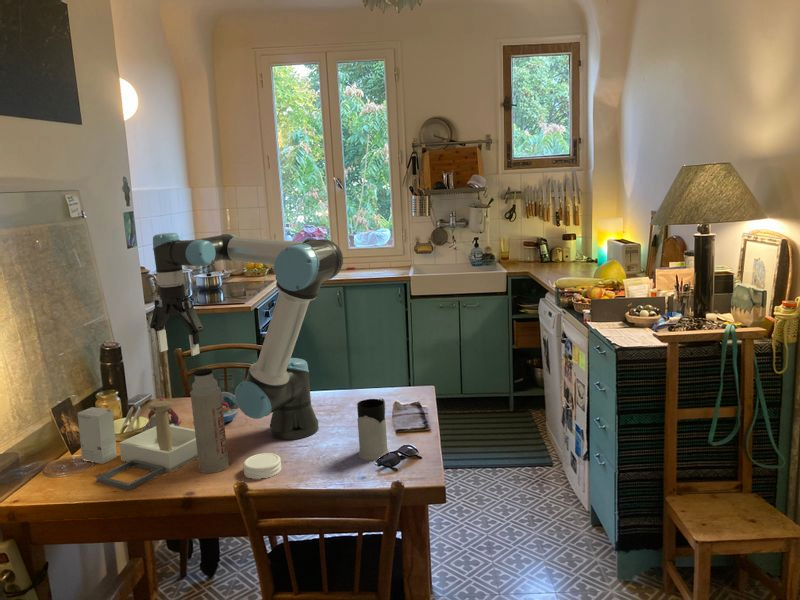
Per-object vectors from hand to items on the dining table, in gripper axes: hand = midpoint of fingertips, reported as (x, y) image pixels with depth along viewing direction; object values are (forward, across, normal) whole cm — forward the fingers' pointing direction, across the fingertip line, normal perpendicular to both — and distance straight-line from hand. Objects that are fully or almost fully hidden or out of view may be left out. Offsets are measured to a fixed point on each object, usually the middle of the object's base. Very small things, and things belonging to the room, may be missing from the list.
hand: (179, 352), depth 210 cm
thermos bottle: (+27, -25, +15) cm, 40 cm away
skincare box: (+27, +11, +24) cm, 38 cm away
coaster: (+27, -40, +12) cm, 50 cm away
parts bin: (+27, -6, +14) cm, 31 cm away
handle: (+26, -6, +15) cm, 30 cm away
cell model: (+27, -3, -13) cm, 30 cm away
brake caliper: (+27, +9, +2) cm, 29 cm away
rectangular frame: (+27, -8, +29) cm, 40 cm away
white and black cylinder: (+27, -62, -12) cm, 69 cm away
